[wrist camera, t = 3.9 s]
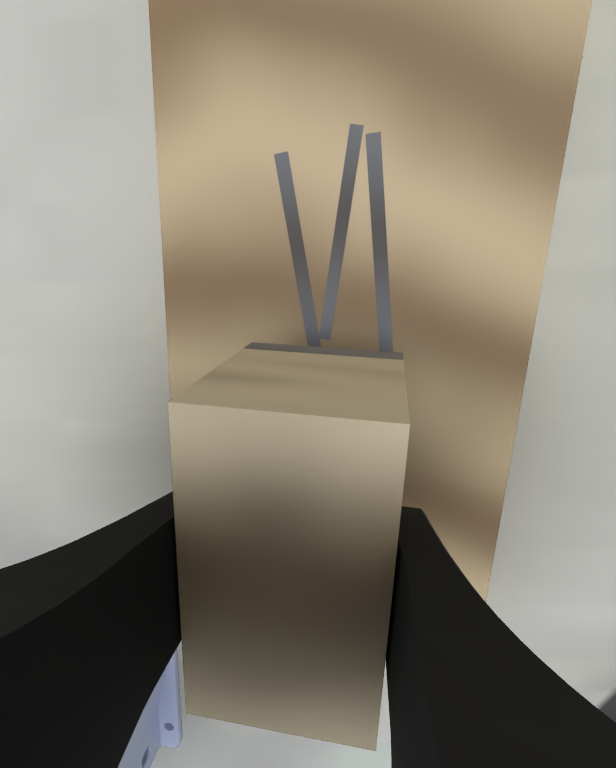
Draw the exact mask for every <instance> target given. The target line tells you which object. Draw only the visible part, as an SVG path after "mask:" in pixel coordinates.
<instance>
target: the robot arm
mask: <svg viewBox="0 0 616 768" xmlns="http://www.w3.org/2000/svg"><path fill="white" fill-rule="evenodd" d="M181 640H182V637H181V620H180V603H179V586H178V569H177V552H176V535H175V518H174V501H173V492H171V493H169V494H167V495H165V496H163V497H161V498H160V499H158V500H156V501H154V502H152V503H150V504H148V505H146V506H145V507H143V508H141V509H139V510H137V511H135V512H133V513H131V514H130V515H128V516H126V517H124V518H122V519H120V520H118V521H116V522H114V523H111V524H109V525H107V526H105V527H103V528H101V529H99V530H97V531H95V532H93V533H91V534H89V535H87V536H85V537H82V538H80V539H78V540H76V541H73V542H71V543H69V544H67V545H64V546H62V547H59V548H57V549H55V550H52V551H49V552H47V553H44V554H42V555H39V556H36V557H34V558H31V559H29V560H26V561H23V562H20V563H18V564H14V565H11V566H8V567H5V568H2V569H0V768H150V766H151V763H152V761H153V759H154V757H155V755H156V753H157V750H158V748H159V746H164V747H169V748H175V747H178V746H179V744H180V742H181V740H182V725H181V708H180V692H179V676H178V660H177V647H178V645H179V643H180V642H181ZM386 670H387V684H388V699H389V714H390V729H391V756H392V768H616V723H615V722H614V721H613V720H611V719H610V718H609V717H608V716H606V715H605V714H604V713H603V712H601V711H600V710H599V709H597V708H596V707H595V706H594V705H592V704H591V703H590V702H589V701H588V700H586V699H585V698H584V697H583V696H582V695H580V694H579V693H578V692H577V691H576V690H574V689H573V688H572V687H571V686H570V685H568V684H567V683H566V682H565V681H564V680H563V679H562V678H561V677H559V676H558V675H557V674H556V673H555V672H554V671H553V670H552V669H551V668H549V667H548V666H547V665H546V664H545V663H544V662H543V661H542V660H541V659H539V658H538V657H537V656H536V655H535V654H534V653H533V652H532V651H531V650H530V649H529V648H528V647H527V646H526V645H525V644H524V643H523V642H522V641H521V640H520V639H519V638H518V637H517V636H516V635H515V634H514V633H513V632H512V631H511V630H510V629H509V628H508V627H507V626H506V625H505V624H504V623H503V621H502V620H501V619H500V618H499V617H498V616H497V615H496V614H495V613H494V612H493V610H492V609H491V608H490V607H489V606H488V605H487V603H486V602H485V601H484V600H483V598H482V597H481V596H480V595H479V593H478V592H477V591H476V590H475V588H474V587H473V586H472V585H471V583H470V582H469V581H468V579H467V578H466V577H465V575H464V574H463V573H462V571H461V570H460V568H459V567H458V565H457V564H456V563H455V561H454V560H453V558H452V557H451V555H450V554H449V553H448V551H447V550H446V548H445V546H444V545H443V543H442V542H441V540H440V538H439V537H438V535H437V534H436V532H435V530H434V529H433V527H432V525H431V523H430V522H429V520H428V518H427V516H426V514H425V513H424V512H423V510H422V509H421V508H413V507H405V506H402V507H401V516H400V526H399V535H398V545H397V554H396V564H395V573H394V583H393V593H392V602H391V612H390V621H389V631H388V640H387V650H386Z"/></svg>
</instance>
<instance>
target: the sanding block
mask: <svg viewBox="0 0 616 768" xmlns="http://www.w3.org/2000/svg"><path fill="white" fill-rule="evenodd" d="M168 416H169V433H170V450H171V467H172V484H173V501H174V518H175V535H176V552H177V569H178V586H179V603H180V620H181V637H182V654H183V671H184V688H185V705H186V713H187V714H192V715H197V716H202V717H207V718H212V719H217V720H222V721H227V722H232V723H237V724H242V725H247V726H252V727H257V728H262V729H267V730H272V731H277V732H282V733H287V734H292V735H297V736H302V737H307V738H312V739H317V740H322V741H327V742H332V743H337V744H342V745H347V746H352V747H357V748H362V749H367V750H372V751H376V745H377V736H378V726H379V716H380V707H381V697H382V688H383V678H384V669H385V659H386V650H387V640H388V631H389V621H390V612H391V602H392V593H393V583H394V573H395V564H396V554H397V545H398V535H399V526H400V516H401V507H402V497H403V488H404V478H405V469H406V459H407V449H408V440H409V430H410V418H409V408H408V398H407V388H406V378H405V368H404V358H403V353H400V352H386V351H372V350H357V349H343V348H329V347H314V346H300V345H286V344H271V343H257V342H251V343H250V344H249V345H247V346H246V347H244V348H243V349H242V350H240V351H239V352H237V353H236V354H234V355H233V356H232V357H230V358H229V359H227V360H226V361H225V362H223V363H222V364H220V365H219V366H218V367H216V368H215V369H213V370H212V371H211V372H209V373H208V374H206V375H205V376H203V377H202V378H201V379H199V380H198V381H196V382H195V383H194V384H192V385H191V386H189V387H188V388H187V389H185V390H184V391H182V392H181V393H180V394H178V395H177V396H175V397H174V398H173V399H171V400H170V401H168Z"/></svg>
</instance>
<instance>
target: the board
mask: <svg viewBox="0 0 616 768" xmlns="http://www.w3.org/2000/svg"><path fill="white" fill-rule="evenodd" d="M148 1H149V19H150V37H151V55H152V73H153V91H154V109H155V127H156V145H157V163H158V181H159V199H160V217H161V235H162V253H163V271H164V289H165V307H166V325H167V343H168V361H169V379H170V397H171V399H173V398H174V397H175V396H177V395H178V394H180V393H181V392H182V391H184V390H185V389H187V388H188V387H189V386H191V385H192V384H194V383H195V382H196V381H198V380H199V379H201V378H202V377H203V376H205V375H206V374H208V373H209V372H211V371H212V370H213V369H215V368H216V367H218V366H219V365H220V364H222V363H223V362H225V361H226V360H227V359H229V358H230V357H232V356H233V355H234V354H236V353H237V352H239V351H240V350H242V349H243V348H244V347H246V346H247V345H249V344H250V343H251V342H257V343H271V344H286V345H300V346H314V347H329V348H343V349H357V350H372V351H386V352H400V353H403V358H404V368H405V378H406V388H407V398H408V408H409V418H410V430H409V440H408V449H407V459H406V469H405V478H404V488H403V497H402V506H405V507H413V508H421V509H422V510H423V512H424V513H425V514H426V516H427V518H428V520H429V522H430V523H431V525H432V527H433V529H434V530H435V532H436V534H437V535H438V537H439V538H440V540H441V542H442V543H443V545H444V546H445V548H446V550H447V551H448V553H449V554H450V555H451V557H452V558H453V560H454V561H455V563H456V564H457V565H458V567H459V568H460V570H461V571H462V573H463V574H464V575H465V577H466V578H467V579H468V581H469V582H470V583H471V585H472V586H473V587H474V588H475V590H476V591H477V592H478V593H479V595H480V596H481V597H482V598H483V600H484V601H485V602H486V598H487V592H488V586H489V581H490V575H491V569H492V564H493V558H494V552H495V547H496V541H497V535H498V530H499V524H500V518H501V513H502V507H503V501H504V496H505V490H506V484H507V479H508V473H509V467H510V462H511V456H512V450H513V445H514V439H515V433H516V428H517V422H518V416H519V411H520V405H521V399H522V394H523V388H524V382H525V377H526V371H527V365H528V360H529V354H530V348H531V343H532V337H533V332H534V326H535V320H536V315H537V309H538V303H539V298H540V292H541V286H542V281H543V275H544V269H545V264H546V258H547V252H548V247H549V241H550V235H551V230H552V224H553V218H554V213H555V207H556V201H557V196H558V190H559V184H560V179H561V173H562V167H563V162H564V156H565V150H566V145H567V139H568V133H569V128H570V122H571V116H572V111H573V105H574V99H575V94H576V88H577V82H578V77H579V71H580V65H581V60H582V54H583V49H584V43H585V37H586V32H587V26H588V20H589V15H590V9H591V3H592V0H148Z"/></svg>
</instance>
